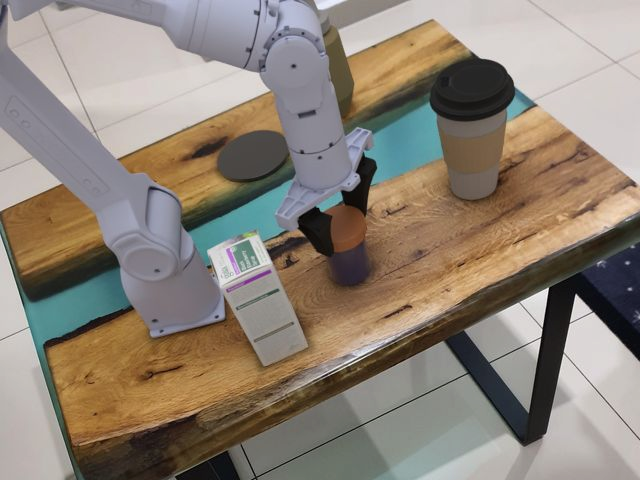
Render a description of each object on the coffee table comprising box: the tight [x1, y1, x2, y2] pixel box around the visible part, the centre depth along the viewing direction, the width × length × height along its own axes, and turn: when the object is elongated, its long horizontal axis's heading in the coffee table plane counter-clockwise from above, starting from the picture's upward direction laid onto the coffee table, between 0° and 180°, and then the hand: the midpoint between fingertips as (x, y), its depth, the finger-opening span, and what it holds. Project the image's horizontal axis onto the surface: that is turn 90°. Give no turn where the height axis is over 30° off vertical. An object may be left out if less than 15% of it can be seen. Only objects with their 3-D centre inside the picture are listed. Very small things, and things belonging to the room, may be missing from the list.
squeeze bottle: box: [301, 0, 355, 119], centre depth 91 cm, size 8×8×18 cm
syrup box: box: [206, 228, 309, 367], centre depth 69 cm, size 6×6×14 cm
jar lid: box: [322, 204, 368, 252], centre depth 73 cm, size 6×6×2 cm
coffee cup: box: [428, 58, 516, 201], centre depth 77 cm, size 9×9×15 cm
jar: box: [323, 236, 373, 287], centre depth 76 cm, size 5×5×7 cm
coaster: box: [216, 129, 290, 183], centre depth 96 cm, size 11×11×1 cm
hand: (341, 234), depth 74 cm, fingers closed on jar lid, 6 cm apart
